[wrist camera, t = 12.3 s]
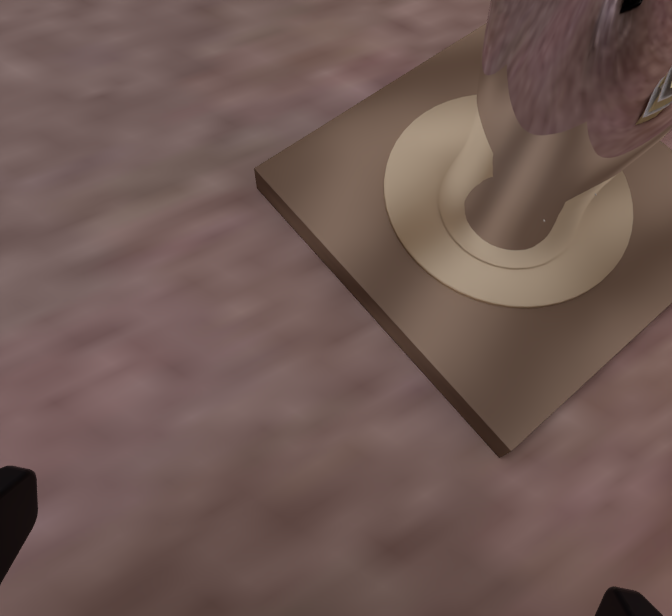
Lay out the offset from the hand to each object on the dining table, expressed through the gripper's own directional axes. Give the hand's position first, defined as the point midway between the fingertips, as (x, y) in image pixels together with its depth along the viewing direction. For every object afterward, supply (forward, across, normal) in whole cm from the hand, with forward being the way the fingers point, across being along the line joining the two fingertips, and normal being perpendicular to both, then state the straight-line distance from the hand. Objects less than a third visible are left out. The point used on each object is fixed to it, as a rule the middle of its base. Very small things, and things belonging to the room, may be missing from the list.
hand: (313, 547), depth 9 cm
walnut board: (+21, -6, -2) cm, 22 cm away
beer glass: (+19, -6, -2) cm, 20 cm away
